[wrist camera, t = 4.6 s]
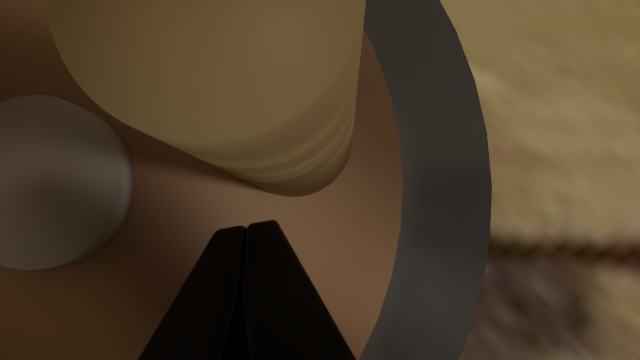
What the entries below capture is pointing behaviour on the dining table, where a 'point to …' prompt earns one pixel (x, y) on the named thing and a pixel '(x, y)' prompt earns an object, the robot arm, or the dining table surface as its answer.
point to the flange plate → (185, 160)
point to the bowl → (432, 183)
